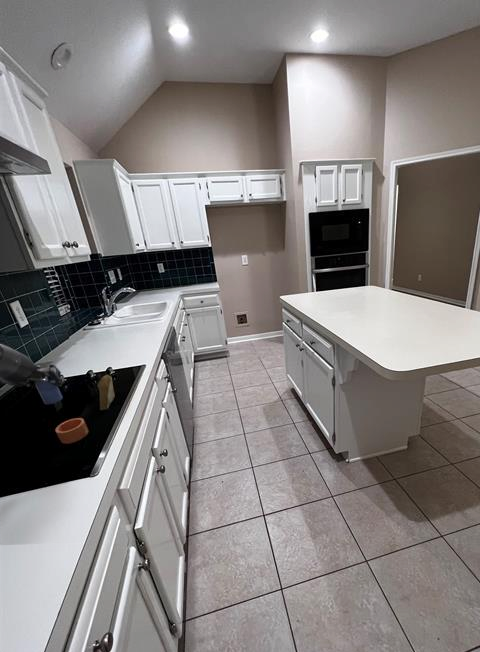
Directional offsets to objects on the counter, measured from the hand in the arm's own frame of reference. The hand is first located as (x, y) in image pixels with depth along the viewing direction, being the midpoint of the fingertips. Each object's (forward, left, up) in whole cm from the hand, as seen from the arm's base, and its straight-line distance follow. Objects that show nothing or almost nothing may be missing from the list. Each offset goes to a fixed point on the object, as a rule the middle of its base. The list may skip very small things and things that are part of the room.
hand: (51, 384), depth 89 cm
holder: (+1, 0, -18) cm, 18 cm away
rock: (-10, +15, -18) cm, 25 cm away
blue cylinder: (+1, -1, -4) cm, 5 cm away
